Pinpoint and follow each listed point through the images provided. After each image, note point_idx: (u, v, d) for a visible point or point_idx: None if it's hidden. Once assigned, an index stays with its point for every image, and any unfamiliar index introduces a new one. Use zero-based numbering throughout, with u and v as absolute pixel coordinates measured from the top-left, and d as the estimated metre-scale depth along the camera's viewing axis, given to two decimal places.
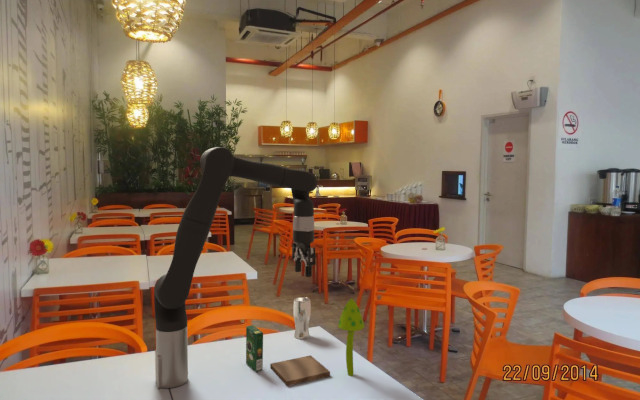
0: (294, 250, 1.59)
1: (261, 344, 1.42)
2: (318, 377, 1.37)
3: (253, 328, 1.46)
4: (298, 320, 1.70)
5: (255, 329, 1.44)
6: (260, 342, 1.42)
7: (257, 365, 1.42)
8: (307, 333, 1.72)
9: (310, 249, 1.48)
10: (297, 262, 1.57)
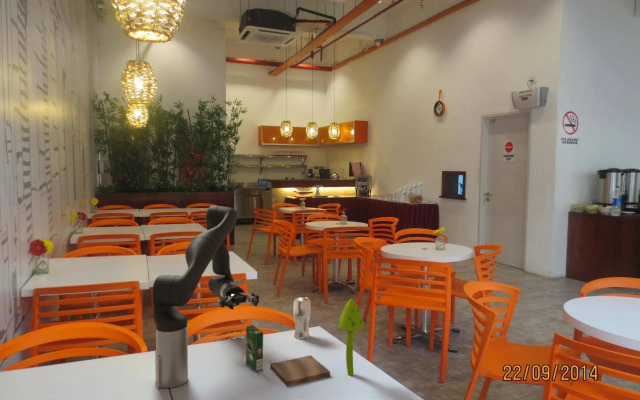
0: None
1: (261, 344, 1.42)
2: (318, 377, 1.37)
3: (253, 327, 1.46)
4: (298, 320, 1.70)
5: (255, 329, 1.44)
6: (260, 342, 1.42)
7: (257, 365, 1.42)
8: (307, 333, 1.72)
9: None
10: None
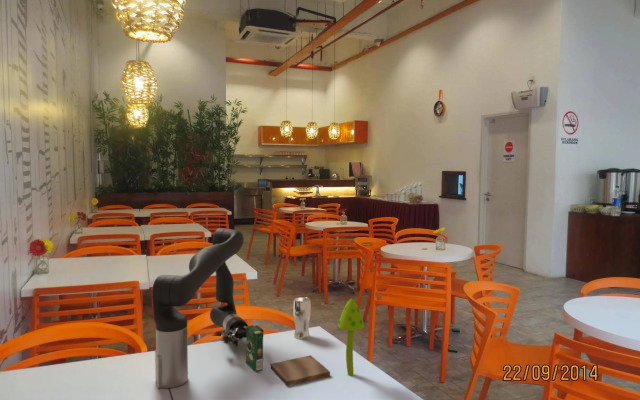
0: None
1: (261, 344, 1.42)
2: (318, 377, 1.37)
3: (253, 327, 1.46)
4: (298, 320, 1.70)
5: (255, 329, 1.44)
6: (260, 342, 1.42)
7: (257, 365, 1.42)
8: (307, 333, 1.72)
9: None
10: None
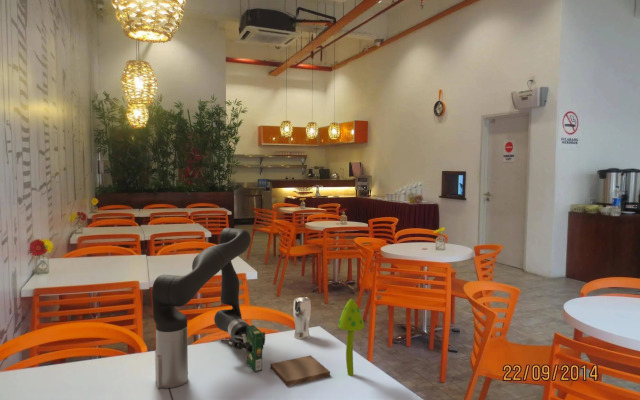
0: None
1: (260, 344, 1.42)
2: (318, 377, 1.37)
3: (253, 327, 1.46)
4: (298, 320, 1.70)
5: (255, 329, 1.44)
6: (259, 342, 1.41)
7: (256, 365, 1.41)
8: (307, 333, 1.72)
9: None
10: None
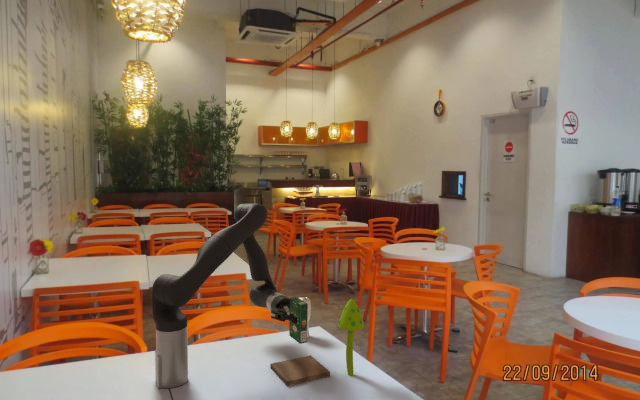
0: None
1: (305, 315, 1.38)
2: (318, 377, 1.37)
3: (297, 299, 1.42)
4: None
5: (299, 300, 1.41)
6: (304, 313, 1.38)
7: (301, 336, 1.38)
8: (307, 333, 1.72)
9: None
10: None
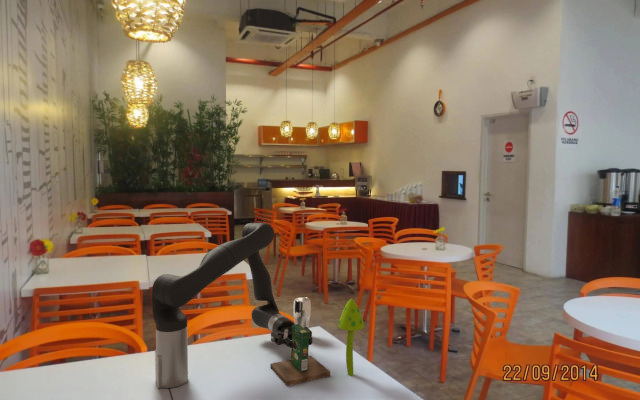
0: None
1: (307, 344, 1.39)
2: (318, 377, 1.37)
3: (299, 326, 1.43)
4: (298, 320, 1.70)
5: (301, 328, 1.41)
6: (305, 342, 1.38)
7: (302, 365, 1.38)
8: None
9: None
10: None
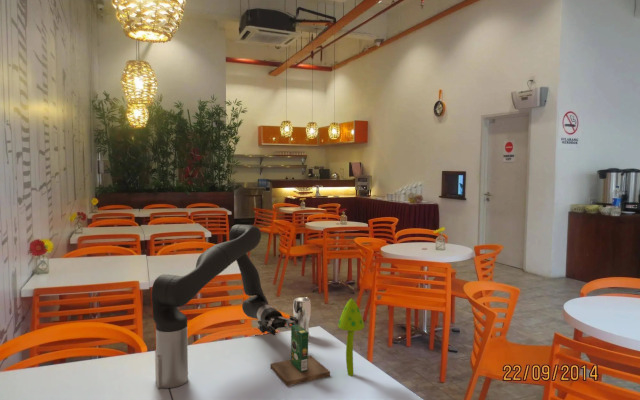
0: None
1: (306, 344, 1.38)
2: (318, 377, 1.37)
3: (298, 327, 1.42)
4: None
5: (300, 328, 1.41)
6: (305, 342, 1.38)
7: (302, 365, 1.38)
8: None
9: None
10: None
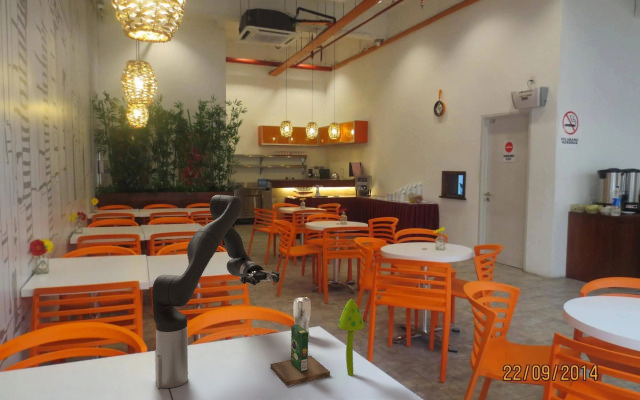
0: None
1: (306, 344, 1.38)
2: (318, 377, 1.37)
3: (298, 327, 1.42)
4: (298, 320, 1.70)
5: (300, 328, 1.41)
6: (305, 342, 1.38)
7: (302, 365, 1.38)
8: None
9: None
10: None
